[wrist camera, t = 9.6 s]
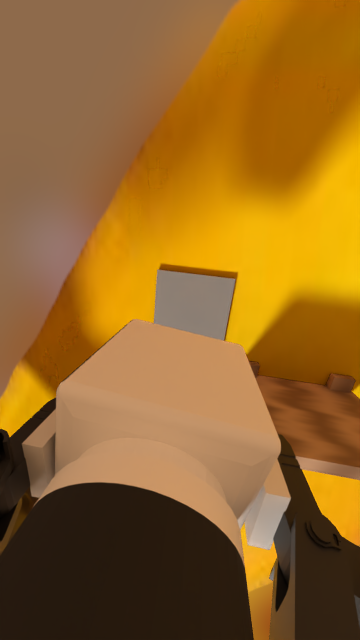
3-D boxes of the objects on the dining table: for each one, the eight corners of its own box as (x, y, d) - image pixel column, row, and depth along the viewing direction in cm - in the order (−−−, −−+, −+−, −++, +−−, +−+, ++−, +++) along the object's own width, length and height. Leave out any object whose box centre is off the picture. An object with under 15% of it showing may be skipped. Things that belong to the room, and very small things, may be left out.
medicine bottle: (132, 316, 13) (-437, 793, 1) (244, 343, 12) (624, 1235, 1) (119, 405, 15) (-141, 859, 4) (213, 431, 15) (238, 1013, 3)
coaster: (153, 338, 33) (152, 340, 32) (158, 269, 30) (157, 269, 29) (221, 348, 32) (222, 350, 32) (234, 278, 29) (235, 279, 28)
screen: (229, 390, 35) (243, 474, 21) (235, 359, 33) (256, 430, 19) (340, 408, 33) (431, 511, 20) (354, 376, 31) (465, 466, 18)
